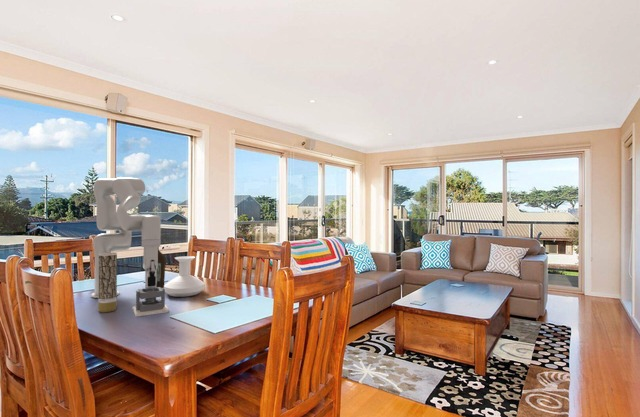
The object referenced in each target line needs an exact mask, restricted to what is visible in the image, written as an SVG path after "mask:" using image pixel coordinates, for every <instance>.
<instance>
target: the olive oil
mask: <svg viewBox="0 0 640 417" xmlns="http://www.w3.org/2000/svg"><path fill="white" fill-rule="evenodd" d="M159 248H160V247H158V267H157V269H156V287H160V288H164V285H165V278H166V277H165V276H166V274H165V273H166V261H167V260H166V256H165V254H163V252H161V250H159Z"/></svg>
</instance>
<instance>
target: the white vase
mask: <svg viewBox="0 0 640 417" xmlns="http://www.w3.org/2000/svg"><path fill="white" fill-rule="evenodd" d="M195 258H196V256H193V255H191V256H189V255H186V256H185V255H183V256H182V255H181V256H176V257H174V259H175V260H176V261H178V262H179V265H178V269H179V270H178V275H177V276H176V277H174V278H173V279H171V280H169V281H168V282H166V283H164V289H165V294H167V295H169V296H171V297H176V298H177V297H178V298H185V297H192V296H195V295H198V294H200V293H201V292H202V291H203V290H204V289H205V288H206V287H205V285H206V284H205V282H204V281H202V280H201V279H199V278H198V277H196V276H193V275H191V262H192V261H193V260H194V259H195Z"/></svg>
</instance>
